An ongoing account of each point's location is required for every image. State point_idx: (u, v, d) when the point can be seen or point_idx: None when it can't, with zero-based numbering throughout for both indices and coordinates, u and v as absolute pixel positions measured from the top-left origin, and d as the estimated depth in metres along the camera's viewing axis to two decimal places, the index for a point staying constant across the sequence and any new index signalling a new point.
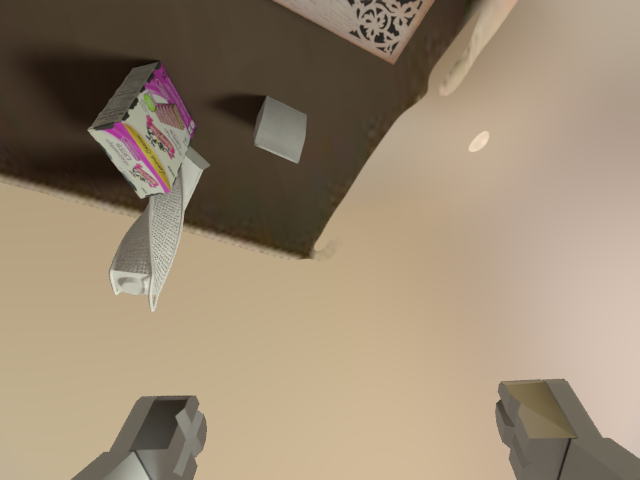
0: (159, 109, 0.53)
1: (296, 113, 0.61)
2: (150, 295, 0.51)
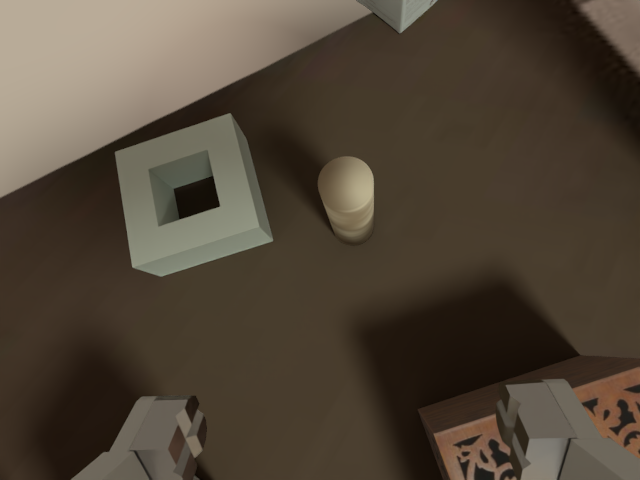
0: None
1: None
2: None
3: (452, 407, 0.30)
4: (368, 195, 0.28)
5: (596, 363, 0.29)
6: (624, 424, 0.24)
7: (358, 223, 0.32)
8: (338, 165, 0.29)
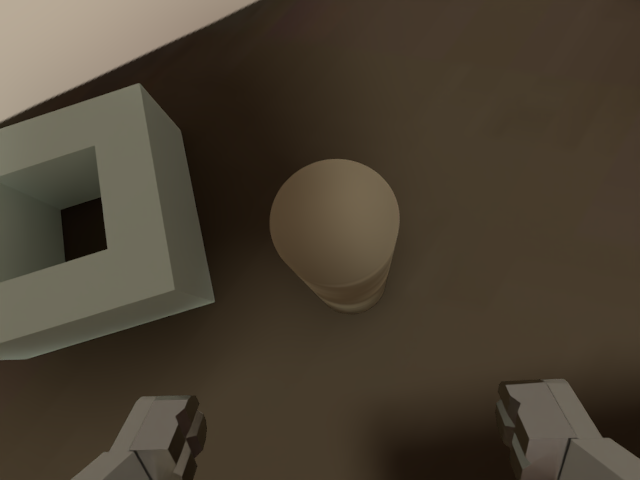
0: None
1: None
2: None
3: None
4: (387, 251, 0.12)
5: None
6: None
7: (362, 295, 0.16)
8: (318, 179, 0.13)
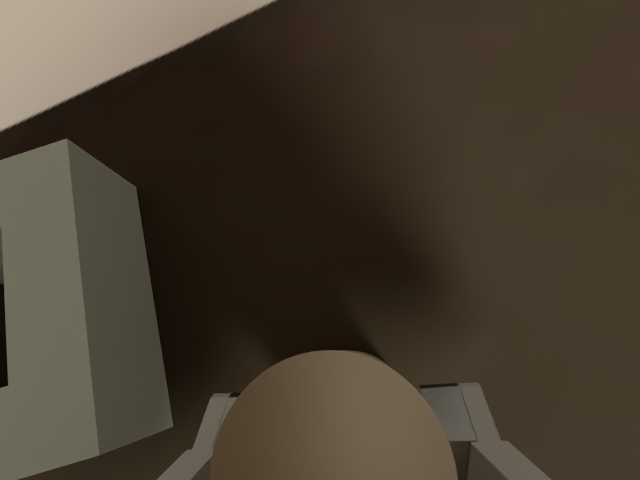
0: None
1: None
2: None
3: None
4: None
5: None
6: None
7: None
8: (301, 391, 0.07)
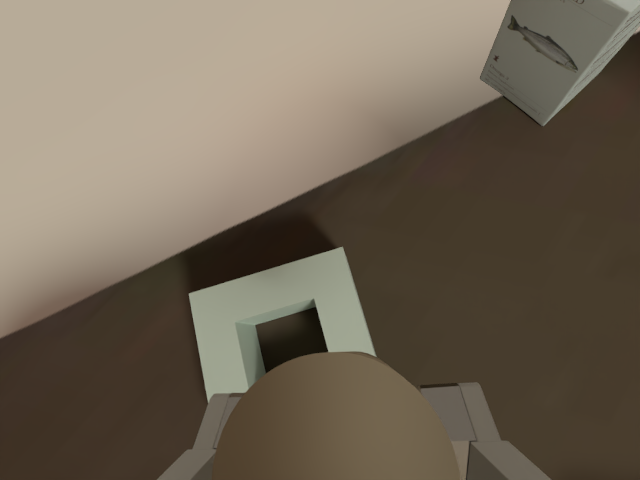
0: None
1: None
2: None
3: None
4: None
5: None
6: None
7: None
8: (303, 393, 0.07)
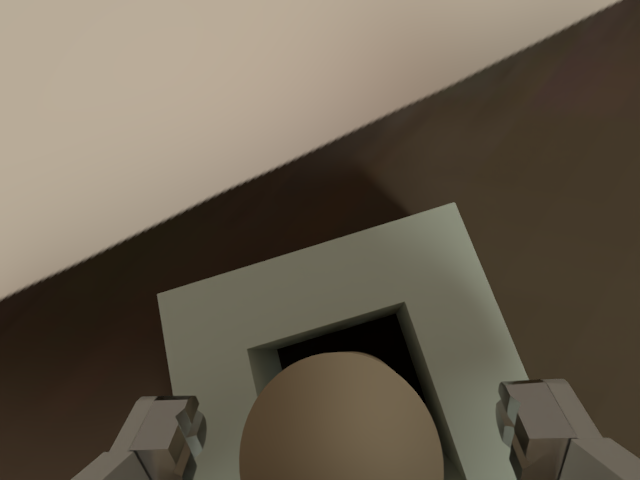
0: None
1: None
2: None
3: None
4: None
5: None
6: None
7: None
8: (314, 386, 0.08)
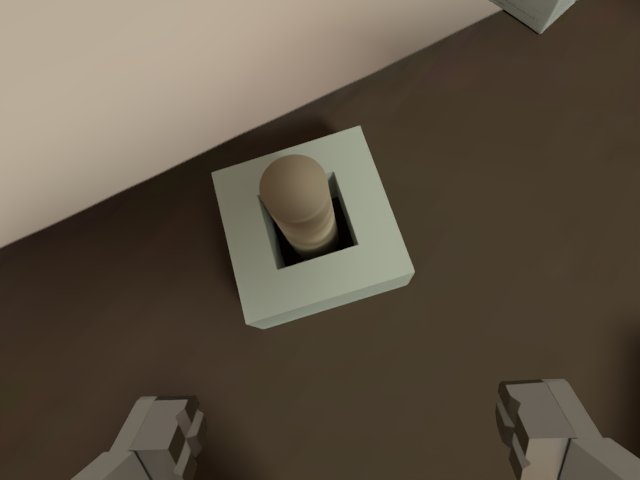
0: None
1: None
2: None
3: None
4: (320, 201, 0.23)
5: None
6: None
7: (314, 235, 0.26)
8: (285, 165, 0.23)
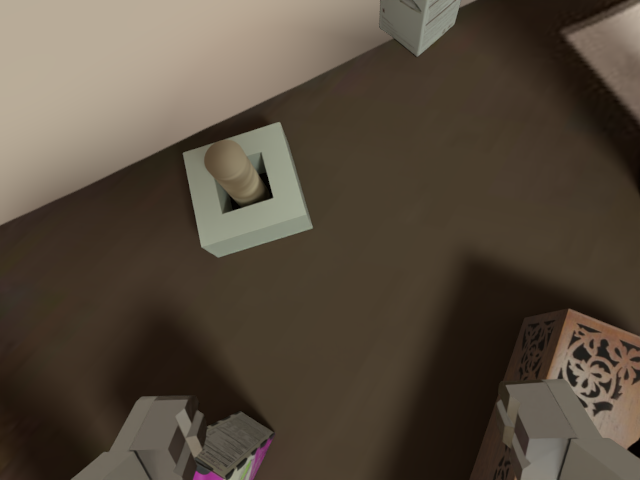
0: None
1: None
2: None
3: None
4: (239, 167, 0.38)
5: None
6: None
7: (243, 191, 0.42)
8: (220, 146, 0.39)
